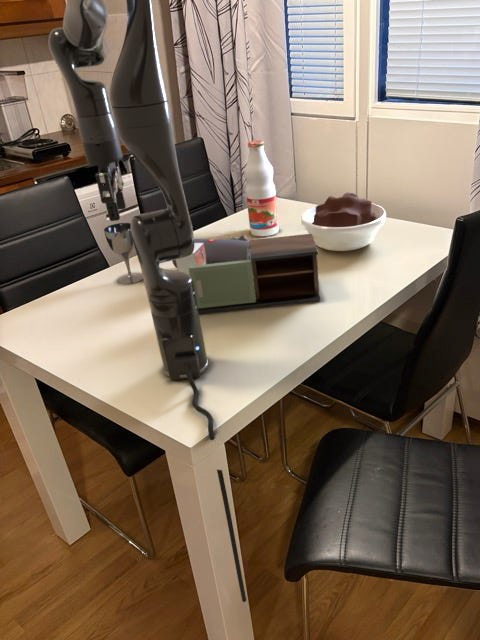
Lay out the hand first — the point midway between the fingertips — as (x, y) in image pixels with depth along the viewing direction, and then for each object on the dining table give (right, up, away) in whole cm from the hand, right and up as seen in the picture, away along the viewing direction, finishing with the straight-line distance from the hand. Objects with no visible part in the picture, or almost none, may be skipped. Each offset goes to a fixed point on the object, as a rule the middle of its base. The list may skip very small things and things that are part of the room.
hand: (118, 214), depth 132 cm
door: (+23, -18, +14) cm, 32 cm away
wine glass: (-7, -8, +37) cm, 38 cm away
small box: (+13, -11, +30) cm, 34 cm away
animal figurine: (+26, +6, +50) cm, 56 cm away
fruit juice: (+30, +12, +61) cm, 69 cm away
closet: (+38, -14, +21) cm, 45 cm away
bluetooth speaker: (+19, +1, +38) cm, 43 cm away
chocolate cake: (+55, +4, +46) cm, 72 cm away
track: (+30, -18, +16) cm, 39 cm away
